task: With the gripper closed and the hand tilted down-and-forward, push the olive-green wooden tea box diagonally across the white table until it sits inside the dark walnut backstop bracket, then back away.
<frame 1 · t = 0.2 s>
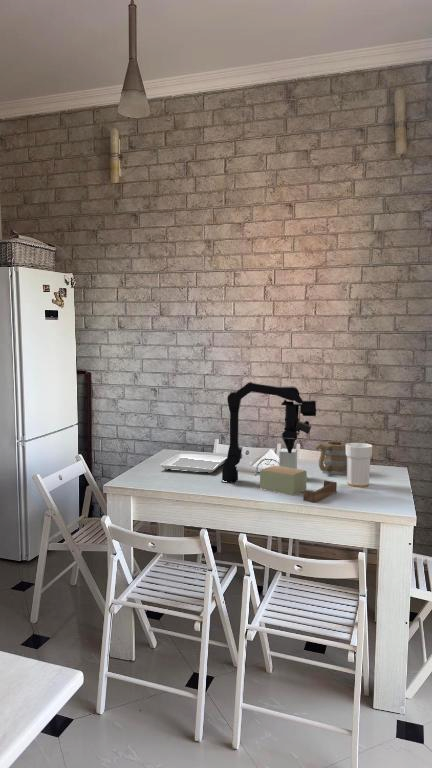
hand: (290, 451, 244), 14 cm above the table, tool pointing down, fingers open, 9 cm apart
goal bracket: (301, 492, 230), on the table
square plate: (195, 468, 275), on the table
tankard: (330, 473, 263), on the table
cup: (357, 484, 243), on the table
tea box: (283, 489, 235), on the table
supplement box: (288, 477, 255), on the table
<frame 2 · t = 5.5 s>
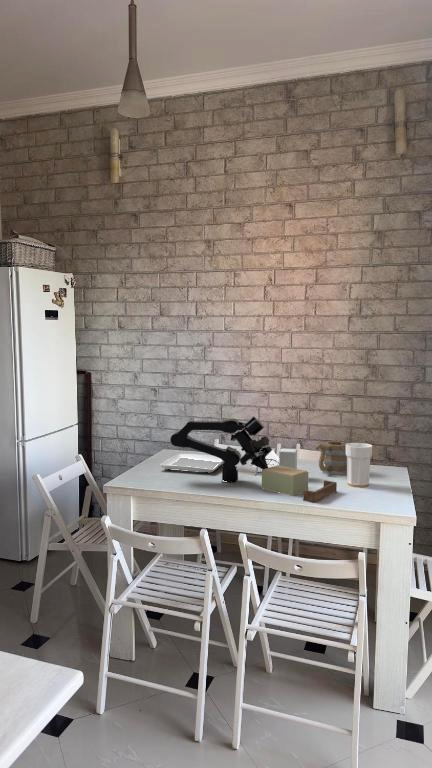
hand: (268, 470, 239), 7 cm above the table, tool tilted 45°, fingers closed
tea box: (284, 489, 235), on the table, touching gripper
everything else where it was.
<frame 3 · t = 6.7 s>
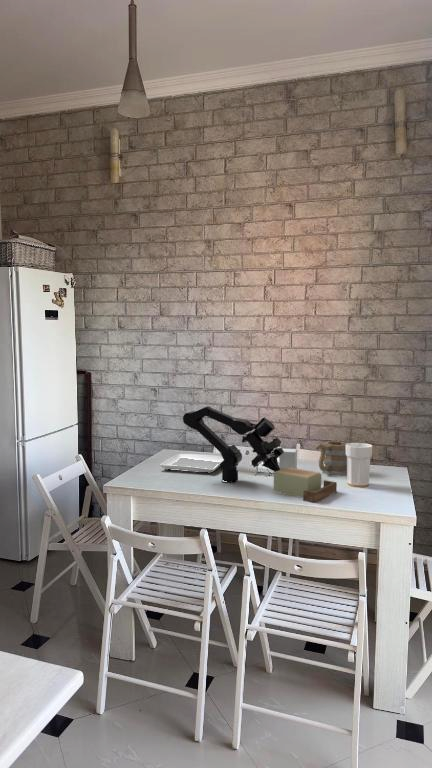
hand: (279, 472, 236), 7 cm above the table, tool tilted 45°, fingers closed
tea box: (297, 492, 231), on the table
everything else where it was.
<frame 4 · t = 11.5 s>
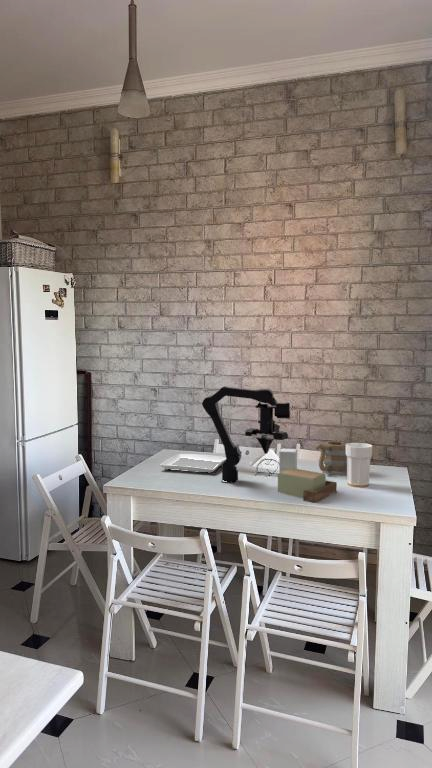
hand: (265, 453, 245), 13 cm above the table, tool pointing down, fingers closed
tea box: (301, 493, 230), on the table
everything else where it was.
at the end: tea box 0.3 cm from the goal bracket (horizontally); tea box tilted 0°; tea box moved 8.7 cm from its start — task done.
